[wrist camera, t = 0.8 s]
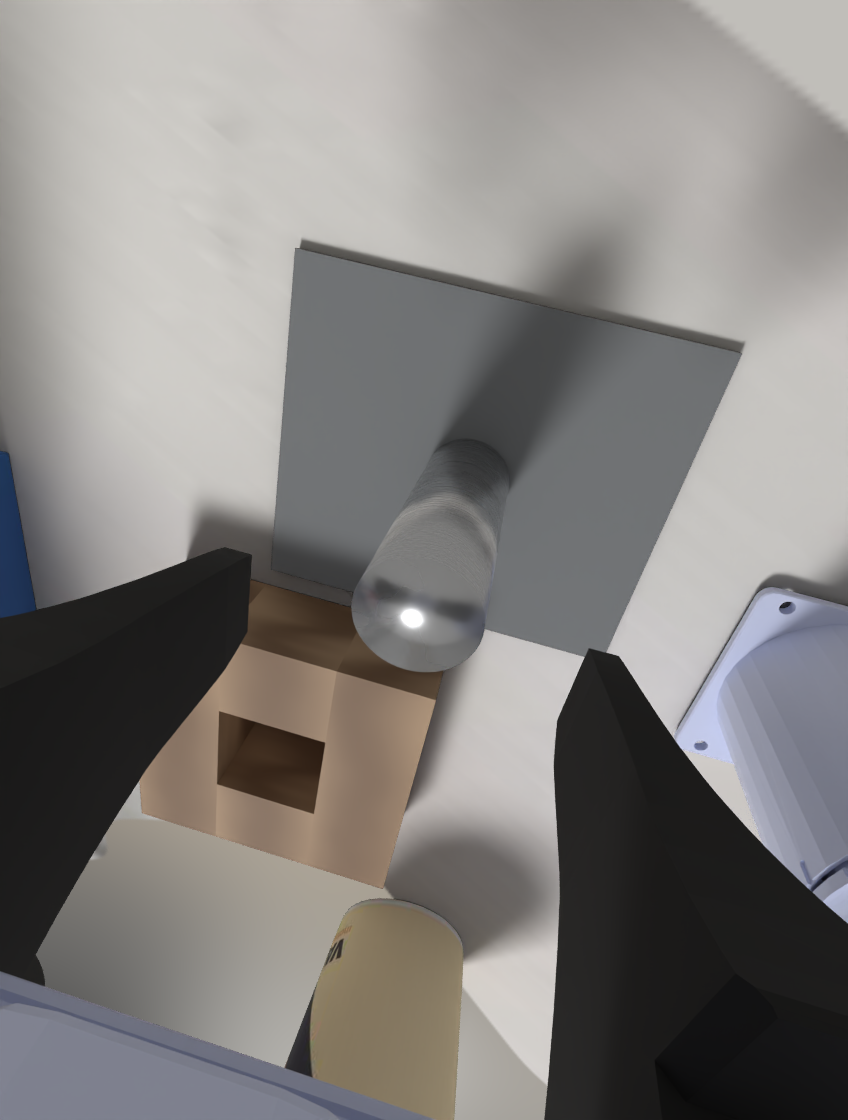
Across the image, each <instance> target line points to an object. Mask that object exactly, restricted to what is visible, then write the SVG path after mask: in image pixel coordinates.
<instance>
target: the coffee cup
mask: <svg viewBox="0 0 848 1120" xmlns="http://www.w3.org/2000/svg"><path fill="white" fill-rule="evenodd" d="M462 976H463V946H462V942H461V939H460V937H459V935H458V933H457V932H456V931H455V929H454V928H453V927H452V926H451V925H450V924H449V923H448V922H447V921H446V920H445V919H443V918H442V917H441V916H439V915H437V914H436V913H434V912H432V911H430V910H428V909H426V908H424V907H422V906H419V905H416V904H413V903H410V902H406V901H402V900H395V899H370V900H366V901H362V902H360V903H357V904H355V905H354V906H352V907H351V908H349V909H348V911H347V912H346V914H345V915H344V917H343V919H342V921H341V924H340V926H339V928H338V931H337V933H336V936H335V938H334V940H333V943H332V945H331V948H330V951H329V953H328V956H327V958H326V961H325V964H324V966H323V969H322V972H321V974H320V977H319V979H318V982H317V985H316V987H315V990H314V992H313V995H312V997H311V1000H310V1003H309V1005H308V1008H307V1010H306V1013H305V1016H304V1018H303V1021H302V1024H301V1026H300V1029H299V1031H298V1034H297V1037H296V1039H295V1042H294V1045H293V1047H292V1050H291V1052H290V1055H289V1057H288V1060H287V1063H286V1065H285V1068H286V1069H289V1070H292V1071H294V1072H297V1073H300V1074H303V1075H306V1076H309V1077H312V1078H315V1079H318V1080H321V1081H324V1082H327V1083H330V1084H333V1085H336V1086H339V1087H341V1088H344V1089H347V1090H350V1091H353V1092H356V1093H359V1094H362V1095H365V1096H368V1097H371V1098H374V1099H377V1100H380V1101H383V1102H386V1103H389V1104H391V1105H394V1106H397V1107H400V1108H403V1109H406V1110H409V1111H412V1112H415V1113H418V1114H421V1115H424V1116H427V1117H430V1118H433V1119H436V1120H454V1114H455V1097H456V1080H457V1063H458V1046H459V1045H458V1044H459V1028H460V1010H461V994H462Z"/></svg>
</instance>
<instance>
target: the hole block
mask: <svg viewBox="0 0 848 1120" xmlns="http://www.w3.org/2000/svg"><path fill="white" fill-rule="evenodd" d="M443 671H444V670H443ZM443 671H438V672H416V671H410V670H406V669H403V668H400V667H397V666H395V665H392V664H390V663H388V662H387V661H385V660H383V659H382V658H380V657H379V656H378V655H376V654H375V653H374V652H373V651H372V650H371V649H369V647H368V646H367V645H366V644H365V643H364V642H363V640H362V639H361V637H360V636H359V634H358V632H357V630H356V628H355V625H354V622H353V617H352V609H351V608H350V607H347V606H343V605H339V604H336V603H332V602H329V601H325V600H322V599H318V598H314V597H311V596H307V595H304V594H300V593H297V592H293V591H289V590H286V589H282V588H279V587H275V586H272V585H268V584H264V583H261V582H257V581H254V580H250V595H249V614H248V632H247V634H246V635H245V637H244V639H243V641H242V642H241V644H240V646H239V648H238V649H237V651H236V653H235V654H234V656H233V658H232V659H231V661H230V662H229V664H228V666H227V667H226V669H225V670H224V672H223V673H222V674H221V676H220V677H219V678H218V679H217V681H216V682H215V683H214V684H213V686H212V687H211V688H210V689H209V691H208V692H207V693H206V695H205V696H204V697H203V698H202V700H201V701H200V702H199V703H198V705H197V706H196V707H195V708H194V709H193V711H192V712H191V713H190V714H189V716H188V717H187V718H186V719H185V721H184V722H183V723H182V724H181V726H180V727H179V728H178V729H177V731H176V732H175V733H174V734H173V735H172V737H171V738H170V739H169V740H168V742H167V743H166V744H165V745H164V747H163V748H162V749H161V750H160V752H159V753H158V754H157V756H156V757H155V758H154V760H153V761H152V763H151V764H150V765H149V767H148V768H147V769H146V771H145V772H144V774H143V775H142V777H141V779H140V793H141V807H142V813H143V814H146V815H150V816H153V817H156V818H159V819H162V820H165V821H169V822H172V823H175V824H178V825H181V826H185V827H188V828H191V829H194V830H197V831H200V832H203V833H207V834H210V835H213V836H216V837H219V838H223V839H226V840H229V841H232V842H235V843H239V844H242V845H245V846H248V847H251V848H254V849H258V850H261V851H264V852H267V853H270V854H274V855H276V856H280V857H283V858H286V859H289V860H292V861H296V862H299V863H302V864H305V865H308V866H312V867H315V868H318V869H321V870H324V871H327V872H330V873H334V874H337V875H340V876H343V877H347V878H350V879H353V880H356V881H359V882H362V883H365V884H369V885H372V886H375V887H378V888H381V889H383V887H384V883H385V880H386V876H387V872H388V869H389V865H390V862H391V858H392V855H393V851H394V848H395V844H396V841H397V837H398V833H399V830H400V826H401V823H402V819H403V816H404V812H405V809H406V805H407V801H408V798H409V794H410V791H411V787H412V784H413V780H414V777H415V773H416V770H417V766H418V762H419V759H420V755H421V752H422V748H423V745H424V741H425V738H426V734H427V730H428V727H429V723H430V720H431V716H432V713H433V709H434V706H435V702H436V698H437V694H438V690H439V686H440V682H441V679H442V675H443Z"/></svg>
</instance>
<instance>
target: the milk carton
mask: <svg viewBox="0 0 848 1120" xmlns="http://www.w3.org/2000/svg"><path fill="white" fill-rule="evenodd" d="M35 610H36V605H35V600H34V594H33V588H32V583H31V577H30V572H29V566H28V560H27V555H26V549H25V543H24V538H23V532H22V527H21V521H20V515H19V510H18V504H17V499H16V493H15V487H14V482H13V476H12V470H11V465H10V459H9V454H8V453H7V452H3V451H0V618H3V617H8V616H13V615H18V614H22V613H27V612H31V611H35Z"/></svg>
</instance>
